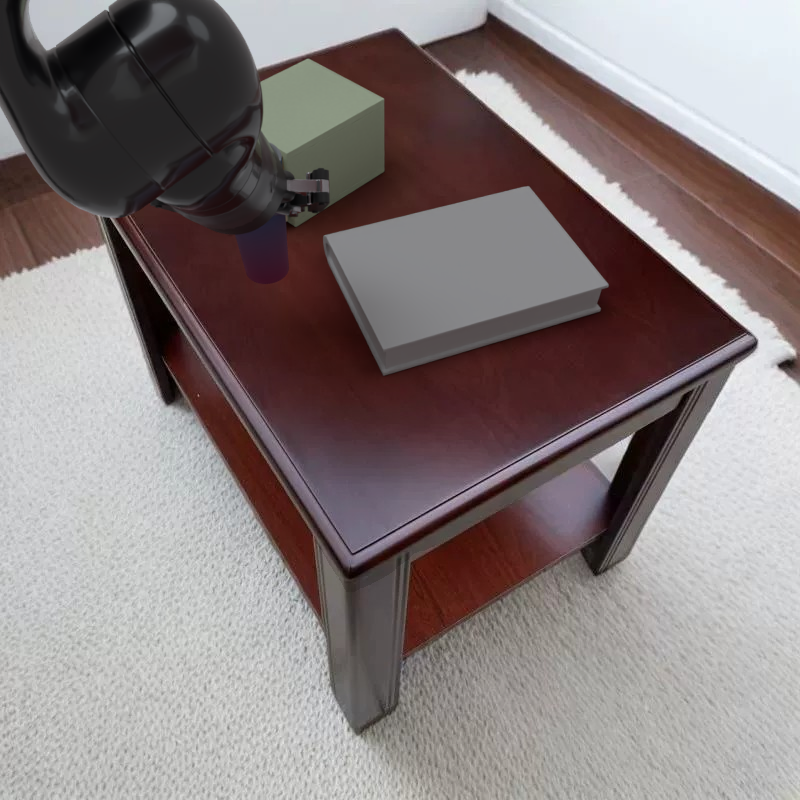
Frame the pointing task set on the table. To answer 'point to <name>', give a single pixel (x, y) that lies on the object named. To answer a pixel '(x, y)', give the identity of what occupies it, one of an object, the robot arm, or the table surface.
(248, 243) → the cup
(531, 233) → the book
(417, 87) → the table surface
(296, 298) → the table surface
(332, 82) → the cabinet
